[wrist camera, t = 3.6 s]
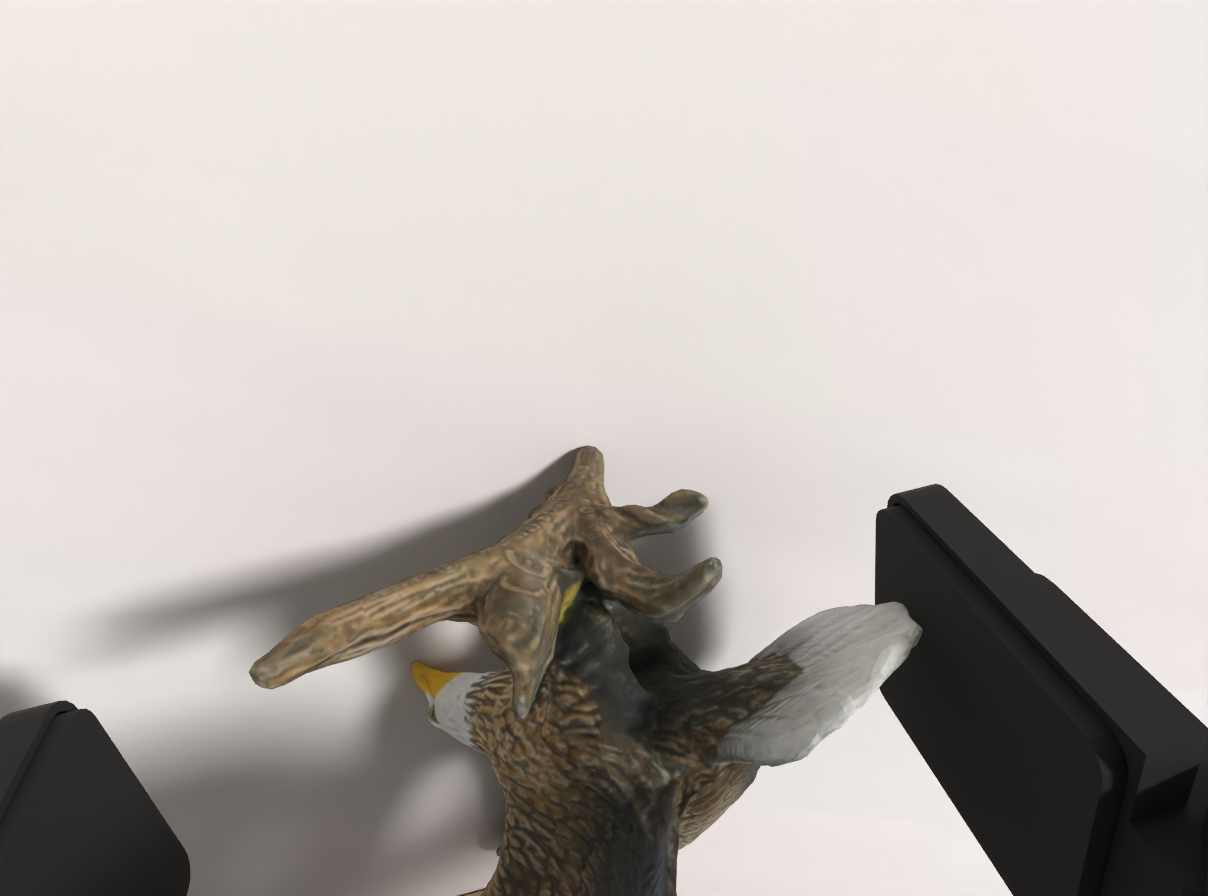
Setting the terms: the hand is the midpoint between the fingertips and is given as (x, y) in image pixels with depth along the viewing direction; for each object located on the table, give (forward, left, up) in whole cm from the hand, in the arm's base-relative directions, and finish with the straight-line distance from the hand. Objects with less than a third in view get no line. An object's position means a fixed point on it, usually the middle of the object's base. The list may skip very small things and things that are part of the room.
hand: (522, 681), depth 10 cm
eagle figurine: (0, +2, -3) cm, 4 cm away
